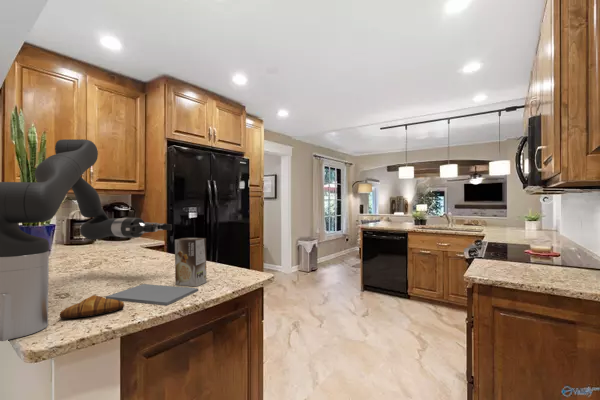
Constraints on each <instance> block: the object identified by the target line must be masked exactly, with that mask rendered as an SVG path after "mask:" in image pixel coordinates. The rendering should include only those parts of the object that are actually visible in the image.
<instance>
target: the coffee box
mask: <svg viewBox="0 0 600 400" xmlns="http://www.w3.org/2000/svg"><path fill="white" fill-rule="evenodd" d="M174 262H175V263H174V267H175V268H174V270H175V271H174V272H175V273H174V274H175V275H174V276H175V279H174V280H175V281H174V283H175V286H183V287H185V286H186V287H187V286H188V287H198V286H200V285H201V286H202V285H203V284H206V283H207V281H208V280H207V237H181V238H177V239H174Z"/></svg>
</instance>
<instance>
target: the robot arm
mask: <svg viewBox="0 0 600 400" xmlns="http://www.w3.org/2000/svg"><path fill="white" fill-rule="evenodd" d="M54 151H55V153H54V154H52V155H50V156H48V157H46V158H45V159H44V160H42V162H40V163H39V164H38V165H37V166H36V167H35V170H34V177H35V178H34V179H35V180H36V181H35V182H33V181H31V182H30V181H26V182H25V181H23V182H22V181H0V342H6V341H9V340H12V339H17V338H21V337H26V336H29V335H33V334H35V333H37V332H40V331H43V330H44V329H47V327H48V326H49V277H50V276H49V268H50V267H49V265H50V264H49V263H50V261H49V260H50V259H49V257H50V253H49V252H50V242H49V240H48V239H47V238H44V237H40V236H36V235H32V234H29V233H27V232H25V231H23V230H22V229H21V228H20V227H19V224H31V223H33V224H35V223H37V224H38V223H44V222H48V221H50V220H52V219H53V218H54V216H55V215H56V214H57V213H58V211H59V209H60V207H61V205H62V203H63V201H64V199H65V197H66V195H67V194H68V192H69V191H70V190H71V189H72V192H73V195H74V196H75V199H76V202H77V205H78V210H79V212H80V215H81V216H82V217H83V218H91V219H89V220H88V221H85V222H84V223H83V224H82V225H81V226H80V228H79V233H80V235H81V236H82V237H83V238H85V239H87V240H99V239H100V240H101V239H103V238H109V237H120V238H133V239H134V238H140V237H141V236H143V235H144V234H147V233H155V232H156V233H157V232H158V231H172V229H173V224H169V223H166V222H163V223H162V222H161V223H159V222H147V221H144V220H143V219H142V218H141V217H122V218H110V217H109V216H108V215H107V214H106V212H105V210H104V209H103V207H102V203H101V199H100V195H99V193H98V192H97V189H95V187H94V186H92V185H91V184H90V183H88V181H87V180H86V179H84V178H83V177H82V175H83V174H85V172H86V171H88V169H90V168H92V167H93V166H94V165H96V162H97V161H98V157H99V152H98V151H99V150H98V147H97V145H96V144H95V143H94V142H93V141H92V140H89V139H84V138H83V139H80V138H79V139H77V138H76V139H71V138H70V139H69V138H68V139H67V138H66V139H58V140H57V141H56V142H55V146H54Z"/></svg>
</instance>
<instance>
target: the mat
mask: <svg viewBox="0 0 600 400" xmlns="http://www.w3.org/2000/svg"><path fill="white" fill-rule="evenodd" d="M198 291H199V288H196V287H187V286H186V287H185V286H176V285H175V286H173V285H161V284H160V285H159V284H152V283H151V284H148V283H142V284H139V285H136V286H133V287H130V288H127V289H124V290H121V291H119V292H114V293H112V294H109V295H106V296H105V298H106V299H114V300H119V301H121V302H131V303H141V304H152V305H158V306H159V305H161V306H169V305H171V304H173V303H176V302H177V301H180V300H182V299H183V298H185V297H188V296H190V295H192V294H195V293H197V292H198Z"/></svg>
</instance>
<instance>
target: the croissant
mask: <svg viewBox="0 0 600 400" xmlns="http://www.w3.org/2000/svg"><path fill="white" fill-rule="evenodd" d="M124 308H125V303H124V301H120V300H114V299H106V297H104V296H98V295H94V294H93V295H91V296H88V297H86V298H85V299H83V300H82V301H79V302H77V303H75V304H73V305H70V306H68V307H66V308H65V309H63V310H61V311H60V312H59V318H60V319H62V320H63V319H64V320H68V319H69V320H70V319H77V318H87V317H94V316H99V315H103V314H109V313H112V312H117V311H120V310H123V309H124Z"/></svg>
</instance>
